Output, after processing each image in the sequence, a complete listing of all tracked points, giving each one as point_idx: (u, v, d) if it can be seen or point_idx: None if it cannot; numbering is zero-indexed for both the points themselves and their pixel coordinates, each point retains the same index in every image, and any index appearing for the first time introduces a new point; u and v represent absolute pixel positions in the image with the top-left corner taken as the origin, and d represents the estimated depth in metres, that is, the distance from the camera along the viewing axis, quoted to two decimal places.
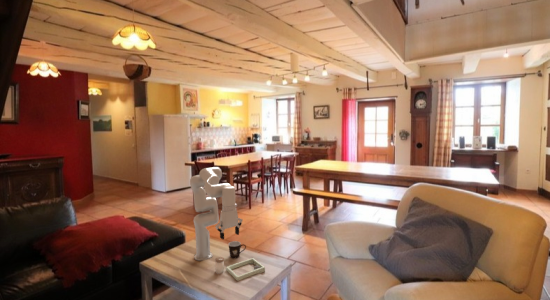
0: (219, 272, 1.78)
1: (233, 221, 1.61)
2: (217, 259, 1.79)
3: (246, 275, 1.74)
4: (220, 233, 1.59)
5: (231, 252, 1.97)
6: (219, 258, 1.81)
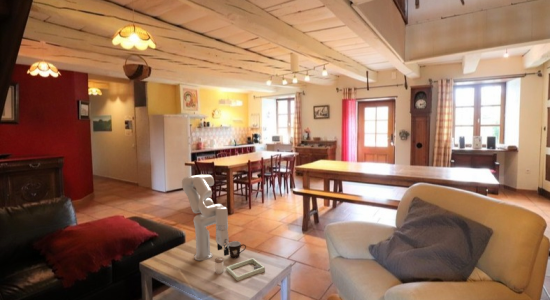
0: (219, 272, 1.78)
1: None
2: (217, 259, 1.79)
3: (246, 275, 1.74)
4: (226, 250, 1.75)
5: (231, 252, 1.97)
6: (219, 258, 1.81)
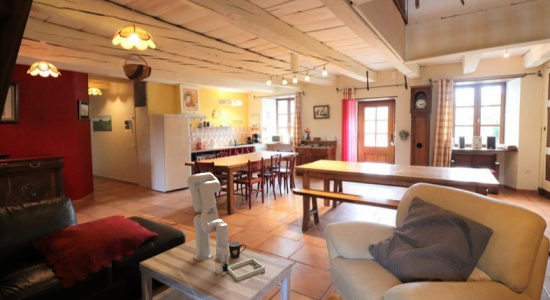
0: (219, 272, 1.78)
1: None
2: (217, 259, 1.79)
3: (246, 275, 1.74)
4: (225, 267, 1.78)
5: (231, 252, 1.97)
6: None
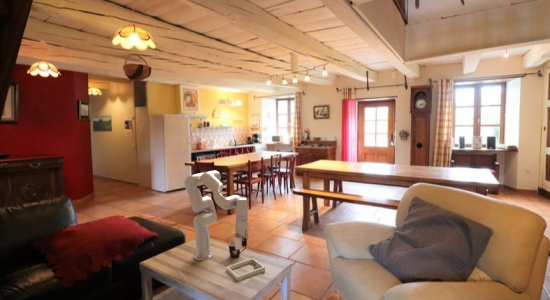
0: (239, 247, 1.76)
1: None
2: (236, 234, 1.77)
3: (246, 275, 1.74)
4: (244, 241, 1.76)
5: (231, 252, 1.97)
6: None
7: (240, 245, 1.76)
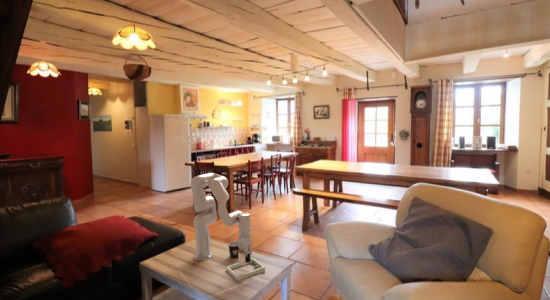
0: (242, 263, 1.77)
1: None
2: (240, 250, 1.78)
3: (246, 275, 1.74)
4: (248, 257, 1.77)
5: (231, 252, 1.97)
6: None
7: (244, 261, 1.77)
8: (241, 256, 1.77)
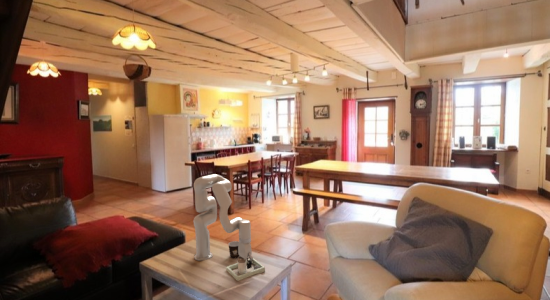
0: (242, 272, 1.78)
1: None
2: (239, 259, 1.79)
3: (246, 275, 1.74)
4: (249, 263, 1.76)
5: (231, 252, 1.97)
6: (241, 258, 1.80)
7: (243, 270, 1.78)
8: (240, 265, 1.77)
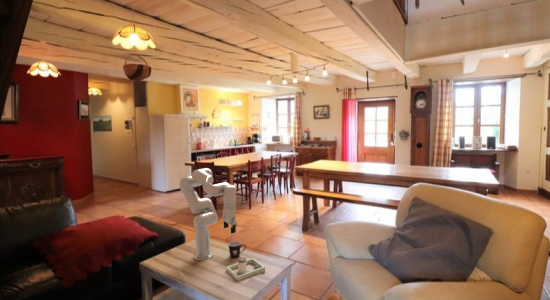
0: (242, 272, 1.78)
1: None
2: (239, 259, 1.79)
3: (246, 275, 1.74)
4: (233, 228, 1.75)
5: (231, 252, 1.97)
6: (241, 258, 1.80)
7: (243, 270, 1.78)
8: (240, 265, 1.77)
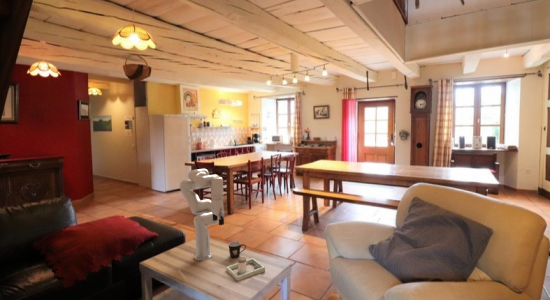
0: (242, 272, 1.78)
1: None
2: (239, 259, 1.79)
3: (246, 275, 1.74)
4: (221, 220, 1.75)
5: (231, 252, 1.97)
6: (241, 258, 1.80)
7: (243, 270, 1.78)
8: (240, 265, 1.77)
